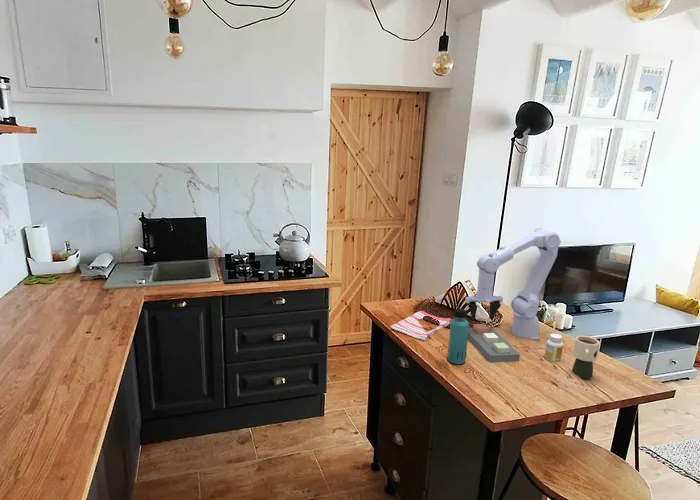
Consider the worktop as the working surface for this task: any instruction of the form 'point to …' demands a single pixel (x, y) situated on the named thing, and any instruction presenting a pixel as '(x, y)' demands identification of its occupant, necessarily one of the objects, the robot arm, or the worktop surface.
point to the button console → (488, 347)
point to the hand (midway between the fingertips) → (482, 319)
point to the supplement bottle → (554, 348)
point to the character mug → (585, 356)
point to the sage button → (501, 348)
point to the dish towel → (418, 325)
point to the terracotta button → (480, 328)
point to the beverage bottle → (458, 337)
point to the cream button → (490, 338)
